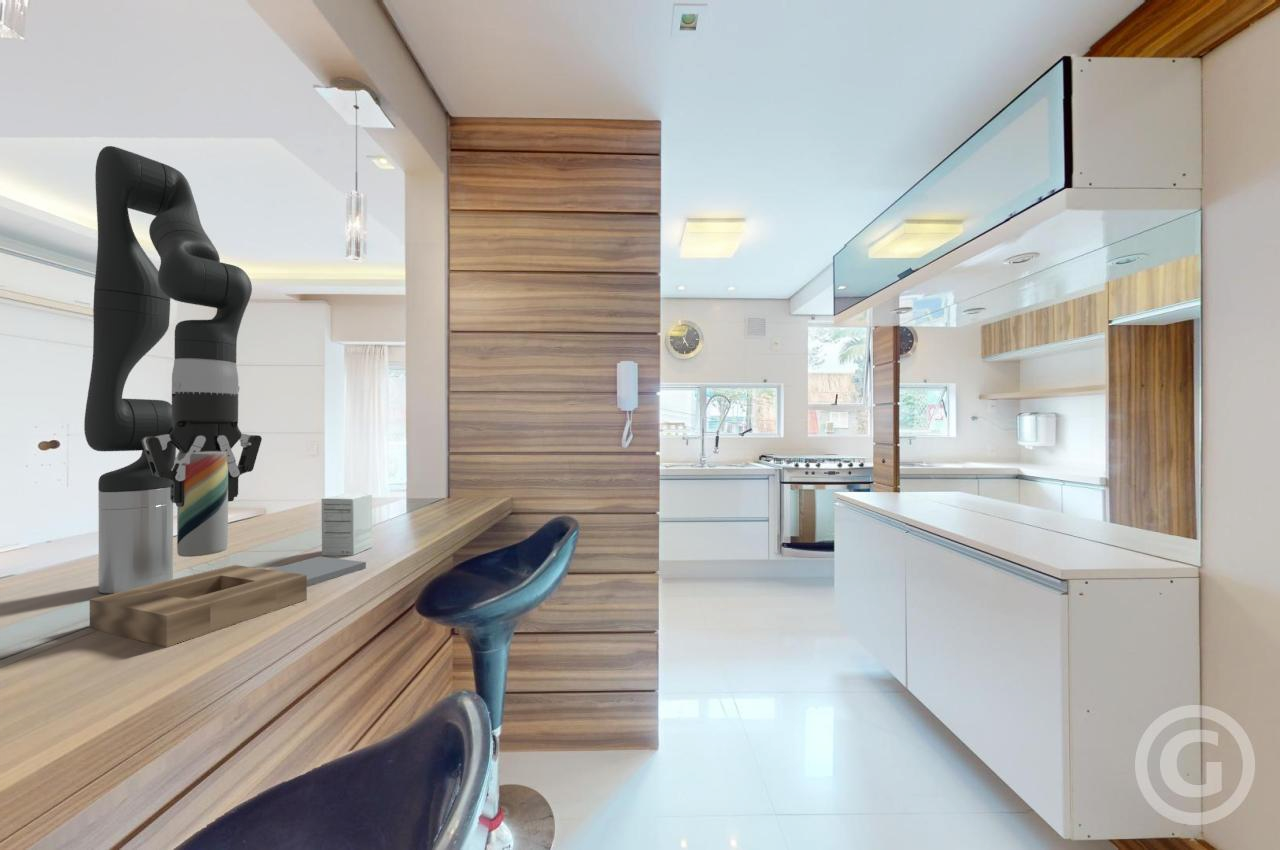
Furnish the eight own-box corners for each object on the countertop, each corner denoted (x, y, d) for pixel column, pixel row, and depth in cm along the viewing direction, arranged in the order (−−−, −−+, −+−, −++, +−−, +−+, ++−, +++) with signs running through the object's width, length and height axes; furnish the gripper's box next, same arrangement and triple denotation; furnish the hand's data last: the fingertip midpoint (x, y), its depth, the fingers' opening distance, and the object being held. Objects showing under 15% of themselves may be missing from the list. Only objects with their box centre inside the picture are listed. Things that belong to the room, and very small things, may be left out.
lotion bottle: (173, 553, 73) (174, 420, 73) (223, 545, 77) (223, 420, 77) (180, 559, 69) (181, 419, 69) (231, 551, 74) (232, 420, 74)
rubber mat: (250, 580, 89) (250, 574, 89) (319, 562, 101) (319, 556, 101) (300, 588, 84) (300, 581, 84) (365, 568, 96) (365, 562, 96)
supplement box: (343, 547, 114) (342, 493, 114) (373, 547, 113) (373, 493, 113) (320, 555, 106) (320, 498, 106) (352, 556, 106) (352, 498, 106)
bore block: (89, 627, 68) (89, 599, 68) (234, 587, 85) (234, 564, 85) (166, 647, 62) (166, 615, 62) (306, 599, 79) (306, 575, 79)
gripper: (250, 394, 82) (249, 495, 82) (130, 388, 69) (130, 508, 69) (273, 393, 78) (272, 499, 78) (150, 387, 65) (150, 513, 65)
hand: (205, 503), depth 73 cm, fingers closed on lotion bottle, 5 cm apart
